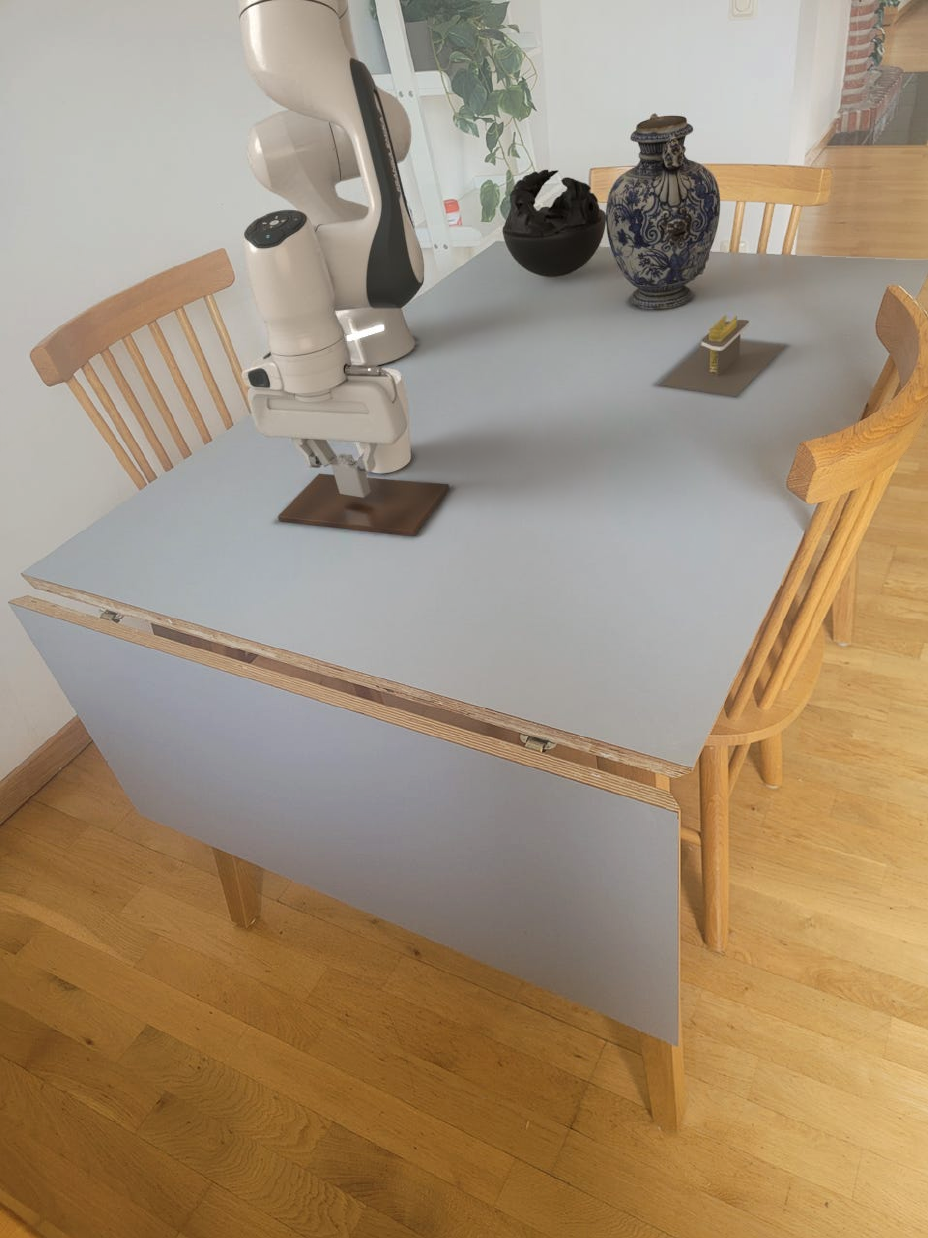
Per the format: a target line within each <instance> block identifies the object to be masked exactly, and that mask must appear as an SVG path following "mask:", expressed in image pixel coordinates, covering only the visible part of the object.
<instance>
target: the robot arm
mask: <svg viewBox="0 0 928 1238" xmlns="http://www.w3.org/2000/svg"><path fill="white" fill-rule="evenodd" d="M348 1H349V0H237V11H238V19H239V28H240V37H241V44H242V50H243V54H244V58H245V59H244V60H245V62H246V66H247V69H248V73H249V75H250V76H251V78H252V80H253V81H254V83H255V84H256V86H257V87H258V88H259V89H260V91H261V92H262V93H263V94H264V95H265V96H266V97H268V98H269V99H270V100H272V101H273V102H275V104H278V105H279V106H281V107H283V108H285V109H286V110H283V111H282V110H281V111H278V112H276V113H274V114H272V115H269V116H267V117H264V118H263V119H262V120H260V121H257V122H256V123H253V124H252V126H251V128H250V129H249V132H248V135H247V139H246V157H247V162H248V165H249V168H250V170H251V172H252V174H253V175H254V177H255V179H256V180H257V181H258V182H259V184H260V185H261V186H262V187H264V188H265V189H266V190H268V191H269V192H271V193H273V194H276V195H277V196H279V197H281V198H282V199H284V200H285V201H287V202H288V203H290V204H291V205H292V206H293V207H294V208H295V209H281V210H276V211H272V212H268V213H266V214H264V215H262V216H261V217H258V218H255V220H253V221H252V222H251V223H250V224H249V225H248V226H247V227H246V228H245V230H244V232H243V235H242V244H243V254H244V261H245V266H246V271H247V276H248V281H249V286H250V289H251V294H252V296H253V300H254V304H255V307H256V310H257V313H258V315H259V316H260V319H261V320H262V322H263V323H264V325H265V327H266V330H267V331H266V332H267V337H268V338H267V344H268V349H269V350H268V351H267V352H265V353H264V354H262V355H260V356H259V357H257V358H256V359H254V361H253V362H251V363H250V364H249V365H248V366H246V367H245V368H244V370H243V371H241V379H242V382H243V384H244V385H245V386H246V387H247V388H248V390H247V402H248V406H249V409H250V414H251V417H252V419H253V422H254V425H255V427H256V430H258V431H259V432H260V433H261V434H262V435H263V436H264V437H268V438H269V437H270V438H285V439H291V441H292V443H293V446H294V447H295V448H296V449H297V450H298V451H299V452H300V453H301V455H303V456H304V458H305V462H306V464H307V467H309V468H313V469H314V468H315V469H316V468H317V469H319V468H321V466H323V465H322V464H321V462H320V461H319V459H318V458H317V456H316V455H315V453H314V452H313V451H312V449H311V448H310V446H309V445H308V443H307V442H306V439H315V440H326V441H331V442H332V441H333V442H348V443H355V442H359V443H360V447H361V449H365V452H364V453H363V454H362V455H361V456H359V457H358V458H357V459H356V461H357V463H358V465H359V470H360V471H365V472H367V473H368V472H369V473H372V472H371V471H372V470H373V469H374V468H375V465H376V464H375V460H374V455H373V454H374V452H375V449H376V447H377V444H394V443H395V442H396V441H397V440H398V439H399V438H400V437H401V436H402V435H403V433H404V432H405V430H406V428H407V420H406V417H405V413H404V410H403V407H402V404H401V401H400V398H399V396H398V393H397V388H396V384H395V380H394V377H393V376H392V375H390V374H389V373H388V372H387V371H385V370H383V369H382V368H383V367H381V365H383V364H387V363H391V362H393V361H395V360H398V359H400V358H402V357H404V356H406V355H407V354H408V353H410V352H411V351H412V350H413V349H414V348H415V346H416V340H415V338H414V337H413V334H412V332H411V330H410V328H409V326H408V323H407V320H406V318H405V315H404V312H403V309H402V308H404V307H405V306H406V305H407V304H409V302H410V301H412V300H413V298H414V297H415V296H416V295H417V294H418V292H419V291H420V289H421V288H422V286H423V285H424V282H425V259H424V255H423V251H422V246H421V244H420V241H419V238H418V236H417V234H416V229H415V226H414V223H413V221H412V217H411V213H410V211H409V206H408V203H407V197H406V194H405V190H404V186H403V182H402V177H401V174H400V169H399V166H398V164H400V163H403V162H404V161H405V160H406V157H407V156H408V155H409V151H410V148H411V143H412V126H411V121H410V118H409V114H408V113H407V111H406V109H405V107H404V106H403V105H402V103H401V102H400V101H399V100H398V99H397V98H396V97H395V96H394V95H393V94H391V93H389V92H387V91H385V90H384V89H381V88H380V87H379V86H378V85H376V83H375V80H374V77H373V76H372V74H371V71H370V70H369V68H368V66H367V65H366V63H364V62H362V61H360V60H359V58H358V57H359V56H358V53H357V50H356V46H355V41H354V35H353V30H352V22H351V16H350V8H349V2H348ZM359 178H360V179H361V182H362V186H363V190H364V194H365V198H366V203H367V205H364V204H362V203H359V202H355V201H351V200H348V199H344V198H342V197H341V196H339V194H338V192H337V189H336V185H338V184H340V183H342V182H346V181H349V180H354V179H359ZM382 373H383V374H382Z"/></svg>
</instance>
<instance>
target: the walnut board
mask: <svg viewBox="0 0 928 1238" xmlns="http://www.w3.org/2000/svg"><path fill="white" fill-rule="evenodd" d="M367 480H368V483H369V487H370V490H371V492H370V493H369V494H368V495H366V496H365V497H363V498H362V497H356V496H350V495H344V494H340V492H339V489H338V486H337V482H336V479H335V476H334V474H329V473H318V474H317V475H316V476H315V477H314V478H313V480H311V481H310V482H309V483H308V485H307V486H305V488H304V489H303V490H301V492H300V493H299V494H298V495H297V496H296V497H295V498H294V499H293V500H292V501H291V502H290V503H289V504H288V505H287V506H286V507H285V508H284V509H283V510H282V511H281V512H280V513H279V514H278V515H277V518H278V521H279V522H282V523H283V522H284V523H292V524H302V525H311V526H318V527H319V526H320V527H327V528H337V529H345V530H354V531H363V532H373V533H383V534H391V535H400V536H409V537H415V536H416V535H417V534H418V532H419V531H420V530H421V528H422V527H423V525H424V524H425V523H426V521H427V520H428V518H429V517H430V516H431V514H432V513H433V512H434V511H435V509H436V508H437V507H438V505H439V504H440V502H442V500H443V499H444V497H445V496H446V495H447V493H448V492H449V491H450V485H449V484H448V483H439V482H438V483H437V482H424V481H414V480H413V481H411V480H401V479H389V478H379V477H378V478H377V477H367Z"/></svg>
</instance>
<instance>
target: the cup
mask: <svg viewBox="0 0 928 1238" xmlns="http://www.w3.org/2000/svg"><path fill="white" fill-rule="evenodd" d="M381 368H382V369H383V370H385V371H387V372H388V373H389V374H390V375H392V376H393V377H394V380H395V384H396V388H397V393H398V396H399V398H400V401H401V404H402V407H403V410H404V413H405V417H406V420H407V428H406V430H405V432H404V433H403V435H402V436H401V437H400V438H399V439H398V440H397V441H396V442H395V443H394V444H377V447H376V449H375V452H374V454H373V455H374V460H375V464H376V465H375V468H374V469H373V470H372V471H371V472H370V473H374V474H389V473H393V472H396V471H398V470H401V469H403V468H404V467H406V466H407V465H408V464H409V463H410V462H411V459H412V454H411V453H412V451H411V436H410V418H409V403H408V395H407V391H406V388H405V384H404V381H403V376H402V374H401V372H400V371H399V370H397V369H394V368H389V367H381ZM382 374H383V373H382ZM354 444H355V447H356V449H357V451H358V454H359V457H361V455H362V454H363V453H364V452H365V449H361V447H360V443H359V442H354Z"/></svg>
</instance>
